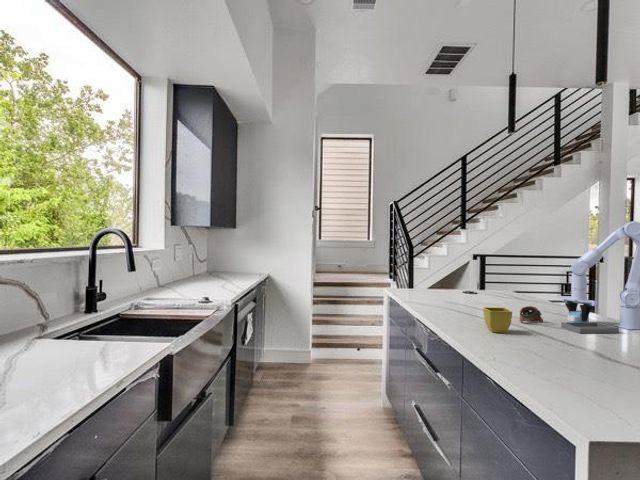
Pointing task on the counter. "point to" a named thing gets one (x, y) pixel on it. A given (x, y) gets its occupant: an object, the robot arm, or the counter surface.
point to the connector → (576, 316)
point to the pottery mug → (530, 314)
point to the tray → (589, 327)
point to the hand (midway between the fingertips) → (578, 320)
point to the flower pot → (497, 319)
